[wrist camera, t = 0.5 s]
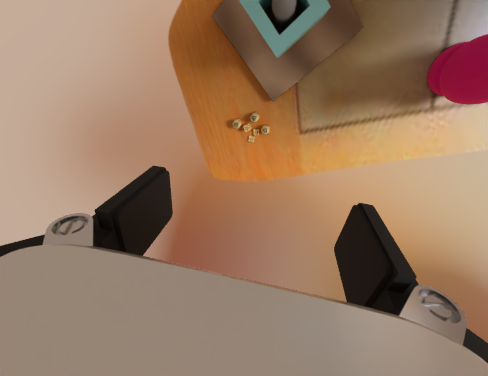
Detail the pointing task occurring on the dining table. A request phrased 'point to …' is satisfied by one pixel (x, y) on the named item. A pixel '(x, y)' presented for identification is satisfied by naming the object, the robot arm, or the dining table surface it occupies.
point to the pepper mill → (462, 72)
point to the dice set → (247, 127)
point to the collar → (313, 11)
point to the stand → (299, 54)
